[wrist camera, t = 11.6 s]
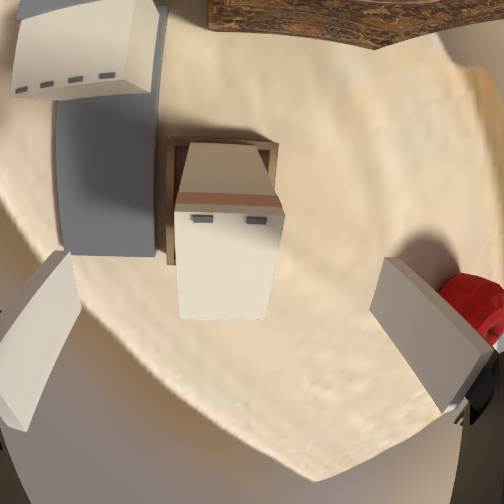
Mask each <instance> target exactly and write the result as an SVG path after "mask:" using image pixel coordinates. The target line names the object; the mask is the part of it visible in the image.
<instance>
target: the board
mask: <svg viewBox="0 0 504 504" xmlns="http://www.w3.org/2000/svg"><path fill="white" fill-rule="evenodd" d="M155 7H156V9H157V11H158V13H159V22H158V29H157V36H156V44H155V52H154V61H153V71H152V81H151V93H137V94H120V95H107V96H96V97H87V98H78V99H71V100H64V101H59V100H57V111H56V173H57V191H58V203H59V214H60V223H61V232H62V239H63V246H64V251H70V252H71V255H88V256H125V257H155V255H156V252H157V249H156V213H155V173H156V137H157V117H158V102H159V89H160V77H161V67H162V57H163V48H164V40H165V33H166V25H167V18H168V12H169V9H168V6H167V5H156V6H155Z"/></svg>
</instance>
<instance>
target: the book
mask: <svg viewBox="0 0 504 504" xmlns="http://www.w3.org/2000/svg"><path fill="white" fill-rule="evenodd" d="M500 19H504V0H208V6H207V26H208V28H209V29H210V30H211V31H215V32H247V33H265V34H278V35H289V36H298V37H306V38H314V39H321V40H327V41H333V42H339V43H344V44H349V45H354V46H359V47H363V48H368V49H372V50H376V49H379V48H382V47H385V46H388V45H391V44H395V43H398V42H401V41H405V40H408V39H411V38H415V37H418V36H422V35H426V34H430V33H434V32H438V31H442V30H446V29H450V28H455V27H460V26H465V25H470V24H475V23H480V22H487V21H493V20H500Z"/></svg>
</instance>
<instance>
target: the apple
mask: <svg viewBox="0 0 504 504" xmlns="http://www.w3.org/2000/svg"><path fill="white" fill-rule="evenodd" d="M439 295H440V296H441V297H442V298H443V299H444V300H445V301H447V302H448V303H449V304H450V305H451V306H452V307H453V308H454V309H455V310H456V311H457V312H458V313H459V314H460V315H462V316H463V317H464V318H465V319H466V320H467V321H468V322H469V323H470V324H471V326H473V327H474V328H475V329H476V330H477V332H479V333H480V334H481V335H482V336H483V337H484V338H485V339H486V340H487V341H488V342H489V343H490V344H491V345H492V346H493V345H494V344H495V343H496V341H497V340H498V339H499V338H500V337H501V335H502V334H503V332H504V290H503V288H502V287H501V286H500V285H499V284H497V283H495V282H492V281H490V280H487V279H485V278H482V277H479V276H475V275H470V274H465V273H460V274H458V275H456V276H454V277H453V278H452V279H451V280H449V281H448V282H447V283H446V284H445V285H444V286H443V288H442V289H441V291H440V293H439Z"/></svg>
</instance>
